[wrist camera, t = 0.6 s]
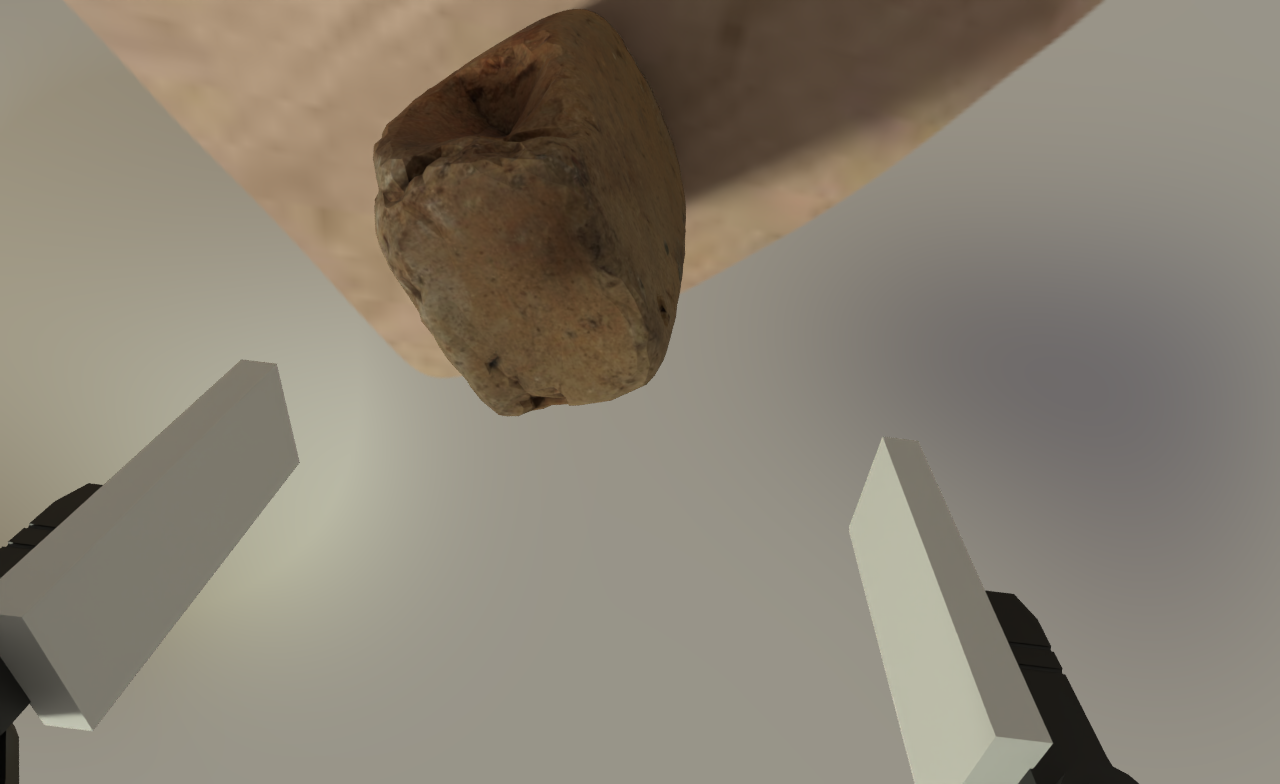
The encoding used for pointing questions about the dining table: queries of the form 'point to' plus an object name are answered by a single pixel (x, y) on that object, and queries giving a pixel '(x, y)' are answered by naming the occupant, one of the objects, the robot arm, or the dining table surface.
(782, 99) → the dining table surface
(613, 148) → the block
